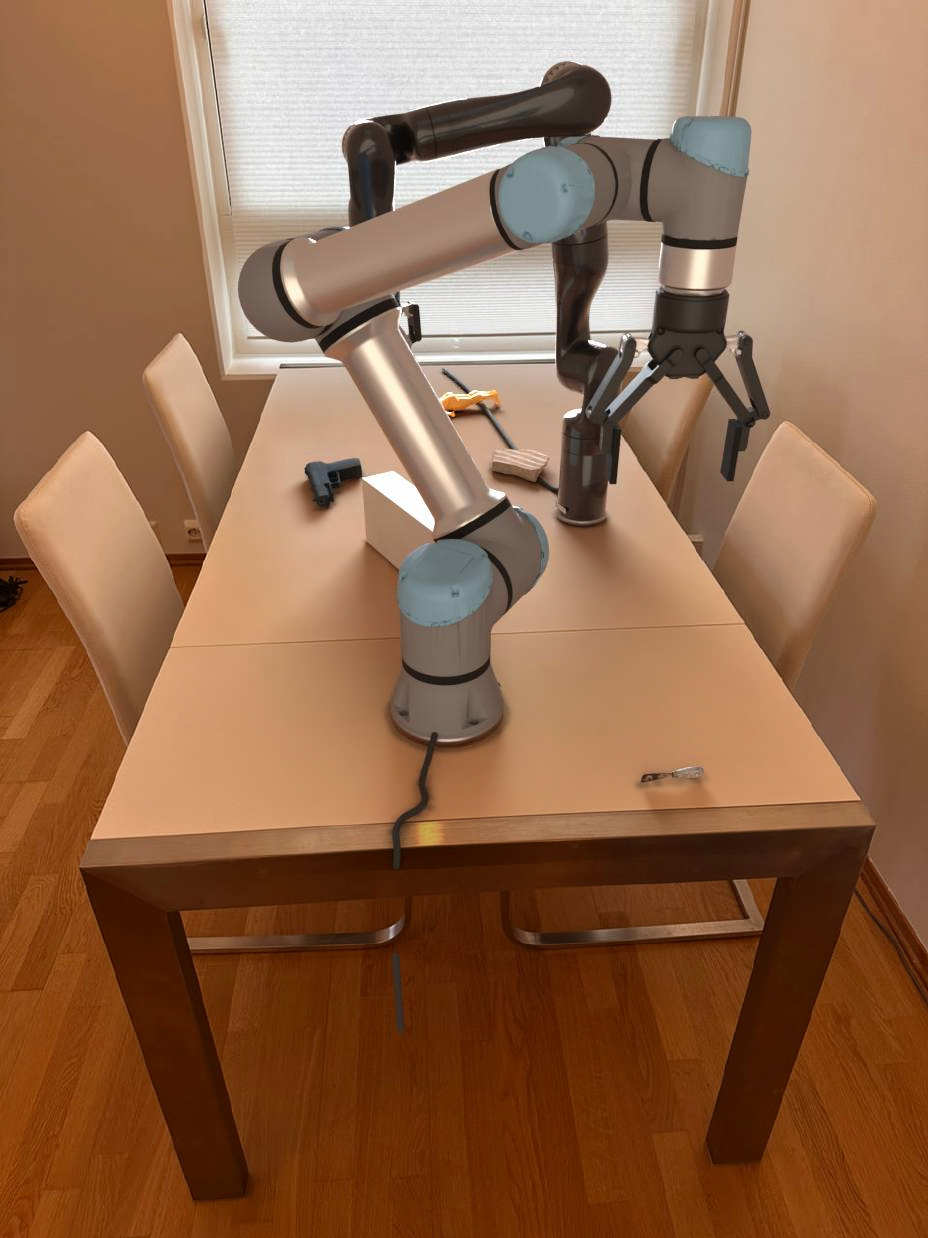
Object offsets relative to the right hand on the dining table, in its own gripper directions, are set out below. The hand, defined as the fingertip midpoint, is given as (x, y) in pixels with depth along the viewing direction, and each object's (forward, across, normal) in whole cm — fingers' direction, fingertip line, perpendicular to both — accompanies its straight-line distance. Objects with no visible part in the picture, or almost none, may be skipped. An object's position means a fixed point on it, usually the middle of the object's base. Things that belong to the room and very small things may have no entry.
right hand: (380, 372), depth 146 cm
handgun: (+32, -1, -28) cm, 42 cm away
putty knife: (+32, -5, +74) cm, 81 cm away
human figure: (+32, -44, -61) cm, 81 cm away
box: (+32, -1, +10) cm, 33 cm away
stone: (+32, -39, -19) cm, 53 cm away
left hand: (-2, -10, +61) cm, 62 cm away
